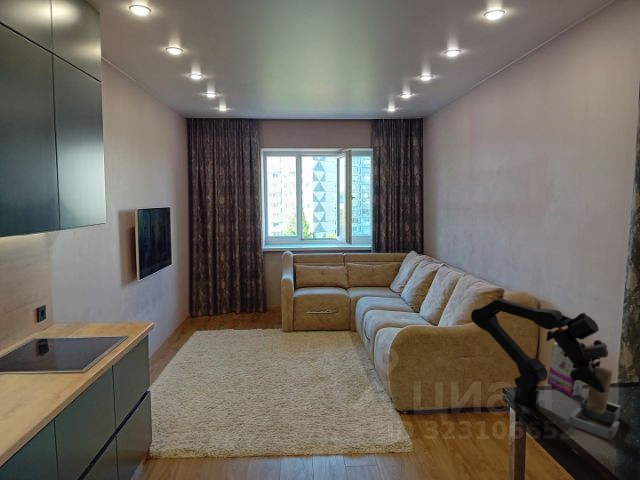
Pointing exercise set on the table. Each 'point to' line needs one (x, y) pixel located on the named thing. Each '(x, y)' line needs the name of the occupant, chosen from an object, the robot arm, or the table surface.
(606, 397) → the walnut block
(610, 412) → the trap bin
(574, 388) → the candy bar box
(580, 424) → the grey shallow tray
